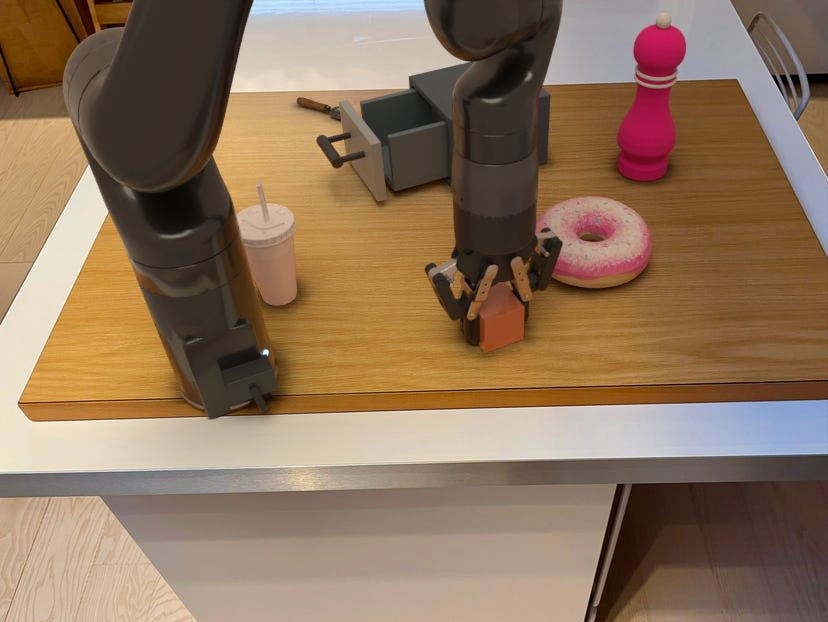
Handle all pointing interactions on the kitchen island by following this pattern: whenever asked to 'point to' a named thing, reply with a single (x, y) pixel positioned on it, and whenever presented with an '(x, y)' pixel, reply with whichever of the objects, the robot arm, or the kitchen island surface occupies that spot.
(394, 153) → the drawer
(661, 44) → the pepper mill
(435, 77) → the cabinet
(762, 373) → the kitchen island surface
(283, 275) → the smoothie
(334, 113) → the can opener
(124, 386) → the kitchen island surface
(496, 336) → the block
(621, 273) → the donut
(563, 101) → the kitchen island surface
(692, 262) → the kitchen island surface
